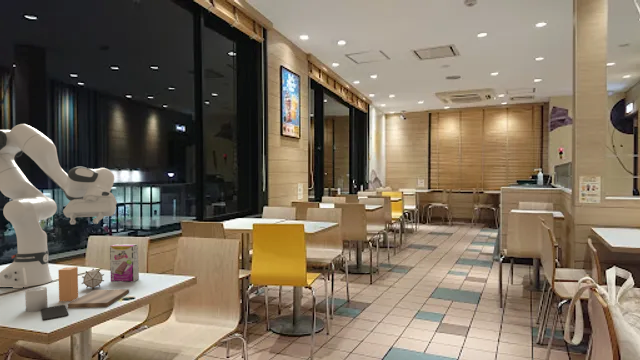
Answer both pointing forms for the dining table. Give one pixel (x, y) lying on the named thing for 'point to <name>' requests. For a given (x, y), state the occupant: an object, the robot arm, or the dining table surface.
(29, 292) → the white rounded cube
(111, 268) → the candy bar box
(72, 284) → the orange block
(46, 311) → the phone
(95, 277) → the spiked faceted ball
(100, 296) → the walnut board
